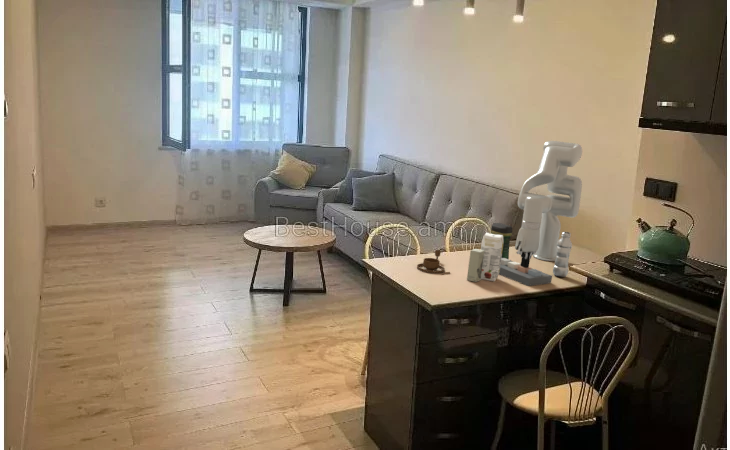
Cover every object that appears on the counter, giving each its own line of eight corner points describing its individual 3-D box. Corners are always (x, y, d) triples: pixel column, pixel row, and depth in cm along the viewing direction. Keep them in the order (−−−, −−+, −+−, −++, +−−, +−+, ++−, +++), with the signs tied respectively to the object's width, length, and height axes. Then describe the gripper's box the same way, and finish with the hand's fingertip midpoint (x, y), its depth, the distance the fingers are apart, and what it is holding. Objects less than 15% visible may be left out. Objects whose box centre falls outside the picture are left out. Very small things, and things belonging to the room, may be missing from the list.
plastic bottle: (559, 278, 280) (566, 234, 275) (548, 274, 285) (555, 231, 281) (570, 278, 283) (577, 234, 278) (559, 273, 288) (566, 230, 284)
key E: (534, 273, 273) (534, 269, 272) (541, 276, 269) (542, 271, 269) (527, 274, 271) (528, 269, 270) (534, 277, 267) (535, 272, 267)
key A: (513, 265, 283) (514, 261, 282) (520, 268, 279) (521, 264, 279) (507, 266, 280) (508, 262, 280) (513, 269, 277) (514, 264, 277)
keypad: (508, 266, 292) (509, 260, 291) (551, 283, 272) (552, 275, 271) (486, 269, 284) (487, 262, 284) (528, 285, 264) (529, 278, 263)
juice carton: (496, 282, 265) (502, 238, 261) (476, 278, 267) (481, 234, 264) (499, 278, 272) (505, 234, 268) (479, 274, 274) (485, 231, 271)
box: (476, 282, 262) (480, 252, 259) (466, 280, 264) (470, 250, 261) (480, 280, 266) (484, 250, 264) (471, 277, 269) (475, 248, 266)
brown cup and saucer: (405, 267, 277) (407, 254, 276) (435, 261, 291) (436, 249, 290) (436, 278, 265) (438, 264, 264) (465, 271, 279) (467, 258, 278)
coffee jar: (510, 264, 297) (516, 225, 293) (500, 266, 292) (505, 226, 288) (494, 259, 304) (499, 221, 300) (483, 260, 299) (488, 222, 295)
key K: (504, 262, 287) (504, 257, 287) (510, 264, 284) (511, 260, 284) (497, 262, 285) (498, 258, 285) (504, 265, 282) (504, 260, 282)
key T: (523, 269, 278) (524, 265, 277) (530, 272, 274) (531, 267, 274) (517, 270, 275) (517, 265, 275) (524, 272, 272) (524, 268, 272)
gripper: (536, 223, 278) (530, 263, 281) (511, 224, 270) (505, 265, 273) (549, 226, 272) (543, 268, 275) (525, 227, 264) (518, 270, 267)
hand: (524, 266), depth 274 cm, fingers closed
